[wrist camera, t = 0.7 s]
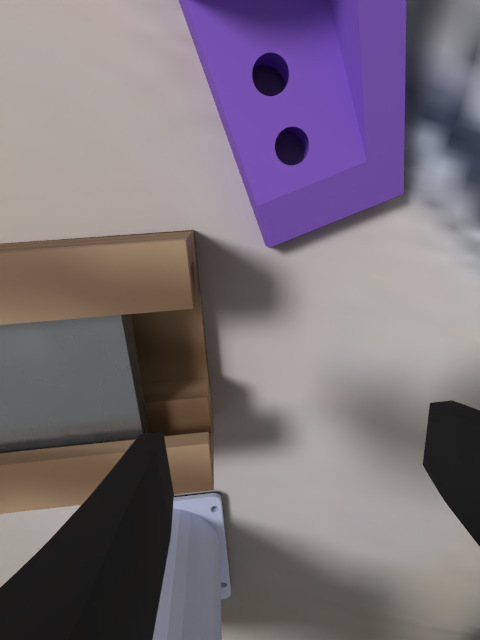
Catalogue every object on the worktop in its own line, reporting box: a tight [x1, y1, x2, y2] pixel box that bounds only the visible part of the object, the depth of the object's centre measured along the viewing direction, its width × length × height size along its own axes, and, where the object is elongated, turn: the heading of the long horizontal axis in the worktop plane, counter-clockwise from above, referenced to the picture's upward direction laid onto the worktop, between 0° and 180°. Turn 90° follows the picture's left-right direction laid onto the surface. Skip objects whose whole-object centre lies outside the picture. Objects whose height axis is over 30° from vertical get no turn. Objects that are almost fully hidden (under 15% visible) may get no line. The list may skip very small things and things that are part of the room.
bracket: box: [179, 0, 406, 248], centre depth 13 cm, size 12×7×7 cm, turn 21°
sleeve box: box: [0, 230, 214, 514], centre depth 16 cm, size 11×12×6 cm
